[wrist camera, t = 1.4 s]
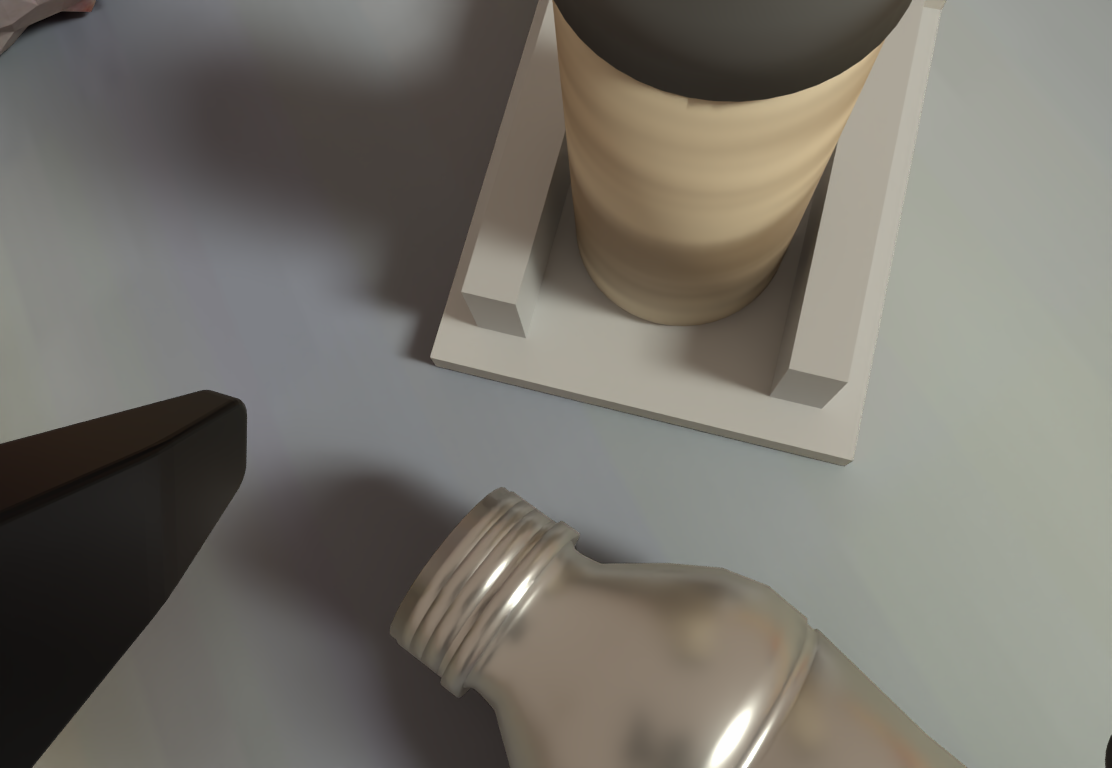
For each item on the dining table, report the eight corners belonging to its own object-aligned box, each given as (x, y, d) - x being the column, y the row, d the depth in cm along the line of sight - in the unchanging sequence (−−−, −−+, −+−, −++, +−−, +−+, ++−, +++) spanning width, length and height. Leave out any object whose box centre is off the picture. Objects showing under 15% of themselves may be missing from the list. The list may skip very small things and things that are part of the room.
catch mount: (844, 466, 22) (909, 423, 17) (436, 366, 23) (388, 299, 18) (962, -130, 26) (1043, -304, 21) (604, -190, 27) (601, -368, 22)
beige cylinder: (766, 352, 22) (930, 66, 10) (547, 301, 22) (477, -21, 11) (811, 150, 23) (1003, -306, 11) (601, 107, 23) (588, -366, 12)
